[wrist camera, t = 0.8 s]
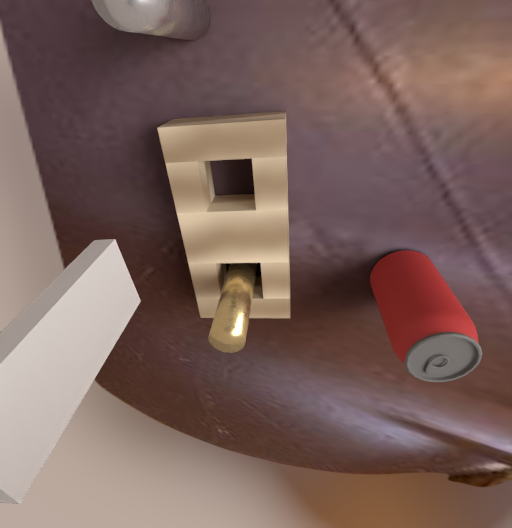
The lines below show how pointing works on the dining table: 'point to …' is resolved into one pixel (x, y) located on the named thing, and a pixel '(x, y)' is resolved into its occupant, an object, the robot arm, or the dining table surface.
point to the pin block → (232, 205)
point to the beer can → (424, 318)
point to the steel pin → (157, 17)
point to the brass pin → (234, 308)
